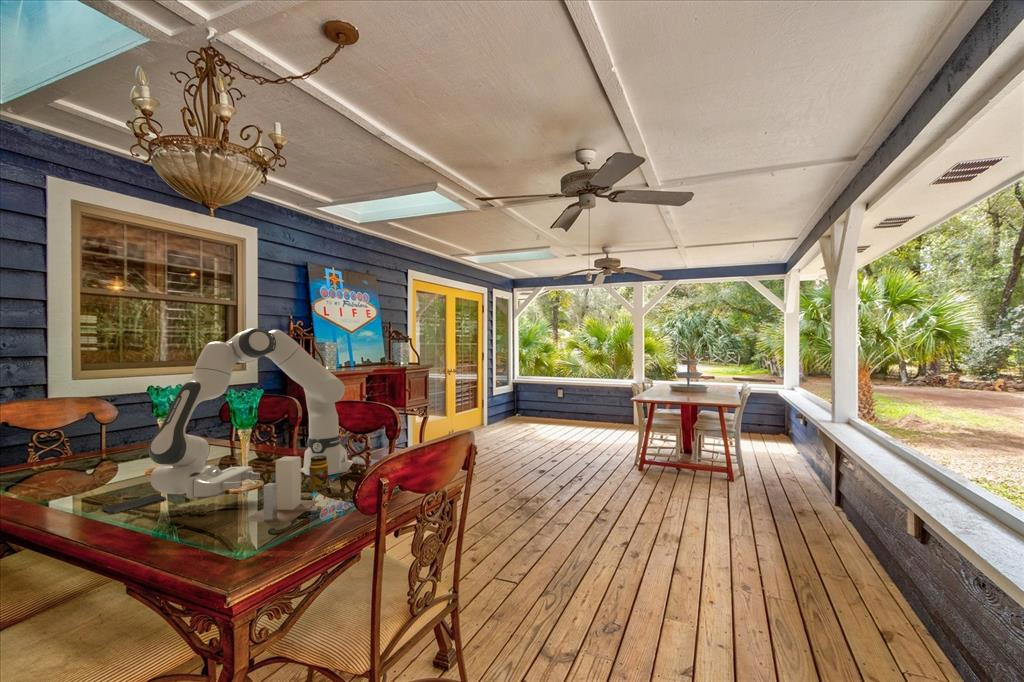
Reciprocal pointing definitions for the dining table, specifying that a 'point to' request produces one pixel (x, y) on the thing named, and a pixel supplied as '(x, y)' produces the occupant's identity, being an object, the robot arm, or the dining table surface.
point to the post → (270, 501)
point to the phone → (133, 503)
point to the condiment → (318, 473)
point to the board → (284, 513)
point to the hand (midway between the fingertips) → (250, 480)
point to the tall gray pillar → (288, 482)
